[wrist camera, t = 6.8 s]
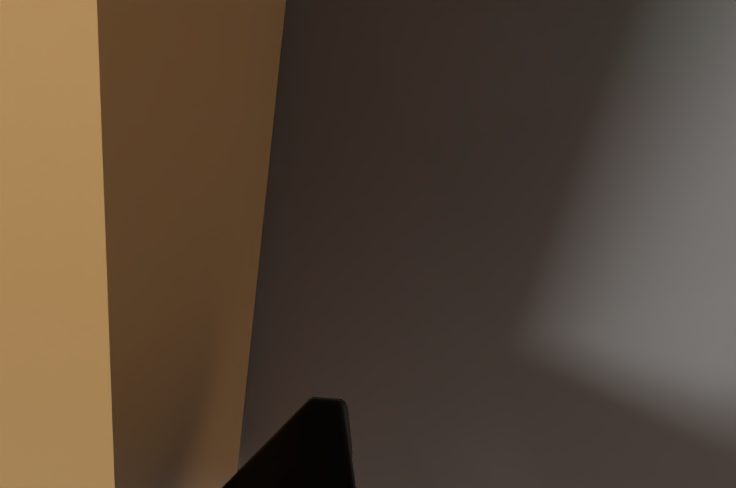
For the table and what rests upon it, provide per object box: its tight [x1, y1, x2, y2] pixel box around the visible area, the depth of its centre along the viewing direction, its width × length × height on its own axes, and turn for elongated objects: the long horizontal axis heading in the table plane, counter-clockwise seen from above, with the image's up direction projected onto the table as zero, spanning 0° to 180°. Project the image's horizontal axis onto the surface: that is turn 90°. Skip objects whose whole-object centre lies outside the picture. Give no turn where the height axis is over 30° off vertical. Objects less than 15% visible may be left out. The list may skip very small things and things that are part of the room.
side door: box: [0, 0, 286, 488], centre depth 7 cm, size 15×2×5 cm, turn 170°
